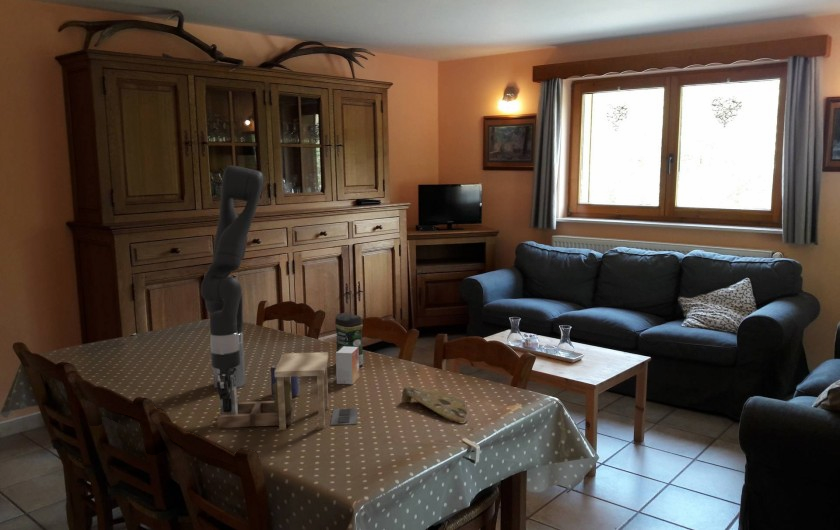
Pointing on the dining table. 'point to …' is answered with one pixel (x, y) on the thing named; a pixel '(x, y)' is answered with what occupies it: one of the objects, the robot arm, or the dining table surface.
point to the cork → (286, 393)
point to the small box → (347, 365)
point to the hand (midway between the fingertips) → (229, 408)
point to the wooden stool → (317, 367)
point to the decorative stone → (438, 403)
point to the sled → (251, 413)
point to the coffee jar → (349, 332)
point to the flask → (293, 380)
